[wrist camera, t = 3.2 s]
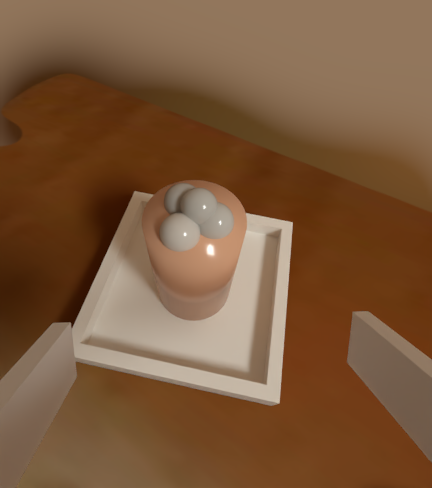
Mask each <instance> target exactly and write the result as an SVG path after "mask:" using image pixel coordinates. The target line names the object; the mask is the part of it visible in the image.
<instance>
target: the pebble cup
mask: <svg viewBox="0 0 432 488" xmlns="http://www.w3.org/2000/svg"><path fill="white" fill-rule="evenodd" d="M142 229H143V234H144V238H145V242H146V246H147V250H148V254H149V258H150V262H151V266H152V270H153V274H154V279H155V283H156V287H157V291H158V295H159V298H160V301H161V302H162V304H163V306H164V307H165V308H166V309H167V310H168V311H169V312H170V313H171V314H173V315H174V316H176V317H178V318H180V319H184V320H189V321H197V320H203V319H206V318H209V317H211V316H213V315H214V314H216V313H217V312H218V311H219V310H220V309H221V308H222V307H223V306H224V304H225V303H226V301H227V298H228V296H229V292H230V288H231V285H232V281H233V277H234V274H235V270H236V266H237V263H238V259H239V255H240V252H241V248H242V244H243V241H244V237H245V233H246V230H247V217H246V213H245V210H244V208H243V206H242V204H241V203H240V201H239V200H238V199H237V198H236V197H235V196H234V195H233V194H232V193H231V192H230V191H229V190H227V189H225V188H224V187H222V186H220V185H217V184H214V183H211V182H207V181H201V180H186V181H180V182H176V183H173V184H170V185H168V186H166V187H164V188H162V189H161V190H159V191H158V192H157V193H156V194H154V195H153V196H152V198H151V199H150V200H149V201H148V203H147V204H146V206H145V208H144V211H143V215H142Z"/></svg>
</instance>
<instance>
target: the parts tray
mask: <svg viewBox="0 0 432 488" xmlns="http://www.w3.org/2000/svg"><path fill="white" fill-rule="evenodd" d="M152 196H153V195H152V194H147V193H142V192H137V191H135V192H134V194H133V196H132V198H131V200H130V203H129V205H128V207H127V209H126V211H125V214H124V216H123V218H122V220H121V222H120V225H119V227H118V229H117V231H116V233H115V236H114V238H113V240H112V242H111V244H110V246H109V249H108V251H107V253H106V255H105V257H104V260H103V262H102V264H101V266H100V268H99V271H98V273H97V275H96V277H95V279H94V282H93V284H92V286H91V288H90V290H89V293H88V295H87V297H86V299H85V301H84V304H83V306H82V308H81V310H80V312H79V314H78V317H77V319H76V321H75V323H74V325H73V328H72V337H73V346H74V355H75V361H76V362H80V363H85V364H89V365H94V366H98V367H102V368H107V369H111V370H116V371H120V372H124V373H129V374H133V375H138V376H142V377H147V378H151V379H155V380H160V381H164V382H169V383H173V384H177V385H182V386H186V387H191V388H195V389H200V390H204V391H208V392H213V393H217V394H222V395H226V396H230V397H235V398H239V399H244V400H248V401H252V402H257V403H261V404H266V405H270V406H272V405H276V404H279V402H280V388H281V375H282V361H283V348H284V334H285V321H286V307H287V294H288V280H289V266H290V253H291V239H292V226H293V222H288V221H283V220H278V219H273V218H268V217H263V216H258V215H253V214H248V213H246V217H247V230H246V233H245V237H244V241H243V244H242V248H241V252H240V255H239V259H238V263H237V266H236V270H235V274H234V277H233V281H232V285H231V288H230V292H229V296H228V298H227V301H226V303H225V304H224V306H223V307H222V308H221V309H220V310H219V311H218V312H217V313H216V314H214V315H213V316H211V317H209V318H206V319H203V320H197V321H189V320H184V319H180V318H178V317H176V316H174V315H173V314H171V313H170V312H169V311H168V310H167V309H166V308H165V307H164V306H163V304H162V302H161V301H160V298H159V295H158V291H157V287H156V283H155V279H154V274H153V270H152V266H151V262H150V258H149V254H148V250H147V246H146V242H145V238H144V234H143V229H142V215H143V211H144V208H145V206H146V204H147V203H148V201H149V200H150V199H151V198H152Z"/></svg>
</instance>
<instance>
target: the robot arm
mask: <svg viewBox="0 0 432 488" xmlns="http://www.w3.org/2000/svg"><path fill="white" fill-rule="evenodd" d="M347 363H348V364H349V365H350V366H351V368H352V369H353V370H354V371H355V372H356V374H357V375H358V376H359V377H360V378H361V379H362V381H363V382H364V383H365V384H366V385H367V387H368V388H369V389H370V390H371V391H372V392H373V394H374V395H375V396H376V397H377V398H378V400H379V401H380V402H381V403H382V404H383V405H384V407H385V408H386V409H387V410H388V411H389V413H390V414H391V415H392V416H393V417H394V419H395V420H396V421H397V422H398V423H399V424H400V426H401V427H402V428H403V429H404V430H405V432H406V433H407V434H408V435H409V436H410V437H411V439H412V440H413V441H414V442H415V443H416V445H417V446H418V447H419V448H420V449H421V450H422V452H423V453H424V454H425V455H426V456H427V458H428V459H429V460H430V461H431V462H432V360H431V359H430V358H429V357H427V356H426V355H425V354H423V353H422V352H421V351H420V350H418V349H417V348H416V347H414V346H413V345H412V344H410V343H409V342H408V341H406V340H405V339H404V338H402V337H401V336H400V335H399V334H397V333H396V332H395V331H393V330H392V329H391V328H389V327H388V326H387V325H385V324H384V323H383V322H381V321H380V320H379V319H378V318H376V317H375V316H374V315H372V314H371V313H370V312H368V311H363V312H353V316H352V324H351V333H350V342H349V350H348V359H347ZM76 377H77V373H76V364H75V355H74V346H73V337H72V328H71V322H65V323H52V324H51V325H50V327H49V328H48V329H47V330H46V331H45V332H44V333H43V334H42V335H41V336H40V338H39V339H38V340H37V341H36V342H35V343H34V344H33V345H32V346H31V347H30V349H29V350H28V351H27V352H26V353H25V354H24V355H23V356H22V357H21V358H20V360H19V361H18V362H17V363H16V364H15V365H14V366H13V367H12V368H11V369H10V370H9V372H8V373H7V374H6V375H5V376H4V377H3V378H2V379H1V380H0V488H16V486H17V485H18V483H19V481H20V479H21V477H22V476H23V474H24V472H25V470H26V468H27V466H28V465H29V463H30V461H31V459H32V457H33V456H34V454H35V452H36V450H37V448H38V446H39V445H40V443H41V441H42V439H43V437H44V436H45V434H46V432H47V430H48V428H49V426H50V425H51V423H52V421H53V419H54V417H55V416H56V414H57V412H58V410H59V408H60V406H61V405H62V403H63V401H64V399H65V397H66V396H67V394H68V392H69V390H70V388H71V386H72V385H73V383H74V381H75V379H76Z"/></svg>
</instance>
